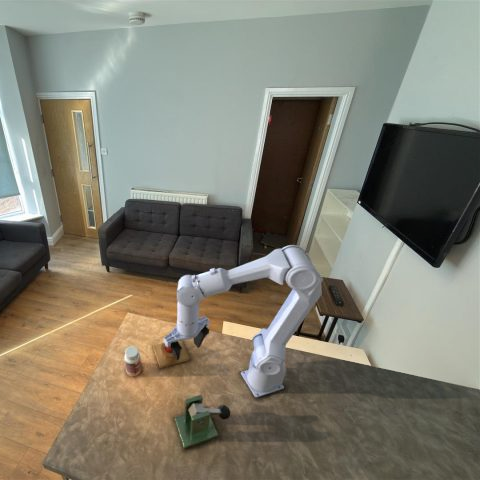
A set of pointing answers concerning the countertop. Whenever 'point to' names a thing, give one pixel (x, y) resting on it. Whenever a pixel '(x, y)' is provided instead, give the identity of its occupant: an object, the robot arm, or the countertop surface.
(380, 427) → the countertop surface
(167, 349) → the button
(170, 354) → the button block
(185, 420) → the bracket
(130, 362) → the pill bottle
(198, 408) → the lever
